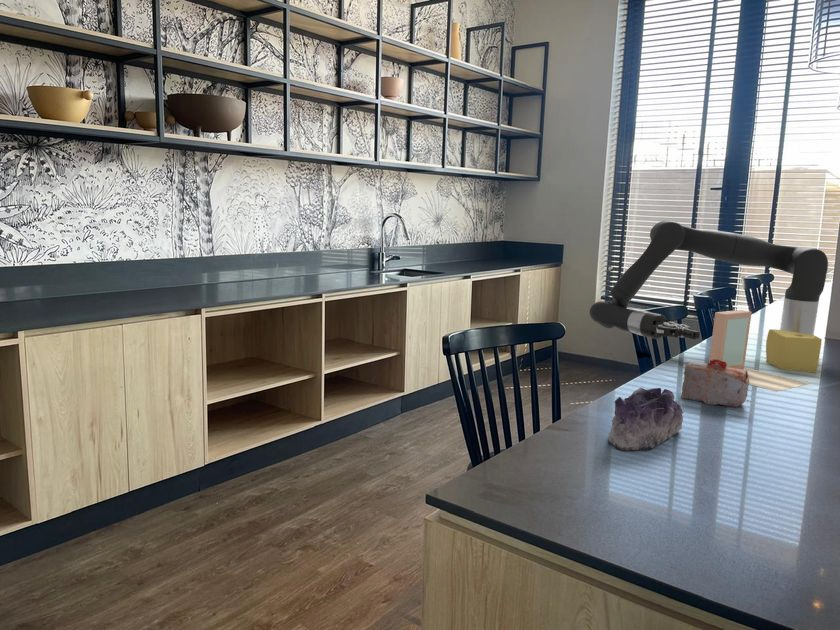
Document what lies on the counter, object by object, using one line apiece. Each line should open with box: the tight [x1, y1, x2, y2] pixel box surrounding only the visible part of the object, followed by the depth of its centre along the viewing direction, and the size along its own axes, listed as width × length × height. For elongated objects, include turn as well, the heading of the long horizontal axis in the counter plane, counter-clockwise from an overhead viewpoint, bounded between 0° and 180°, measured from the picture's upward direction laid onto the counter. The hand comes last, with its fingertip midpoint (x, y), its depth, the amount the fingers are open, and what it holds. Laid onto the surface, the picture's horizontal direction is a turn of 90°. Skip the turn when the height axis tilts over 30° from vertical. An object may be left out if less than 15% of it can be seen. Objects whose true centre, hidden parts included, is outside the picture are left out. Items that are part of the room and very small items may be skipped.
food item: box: [680, 359, 750, 408], centre depth 145 cm, size 14×8×10 cm, turn 63°
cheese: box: [765, 329, 822, 373], centre depth 181 cm, size 10×11×10 cm
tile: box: [708, 309, 753, 369], centre depth 173 cm, size 12×3×16 cm, turn 123°
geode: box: [607, 387, 684, 453], centre depth 120 cm, size 20×12×10 cm, turn 142°
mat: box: [741, 366, 810, 393], centre depth 169 cm, size 16×23×1 cm
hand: (697, 335), depth 181 cm, fingers closed
